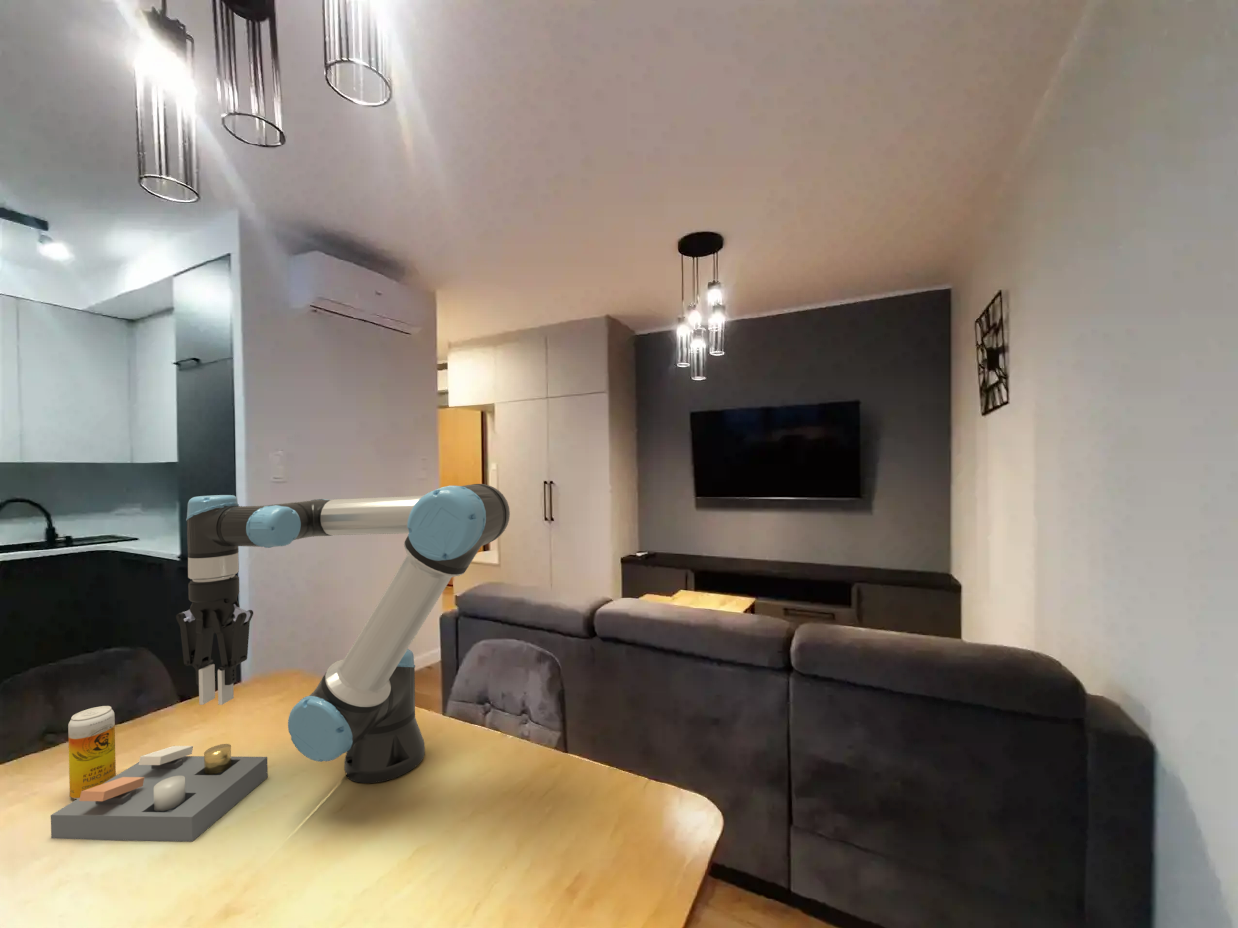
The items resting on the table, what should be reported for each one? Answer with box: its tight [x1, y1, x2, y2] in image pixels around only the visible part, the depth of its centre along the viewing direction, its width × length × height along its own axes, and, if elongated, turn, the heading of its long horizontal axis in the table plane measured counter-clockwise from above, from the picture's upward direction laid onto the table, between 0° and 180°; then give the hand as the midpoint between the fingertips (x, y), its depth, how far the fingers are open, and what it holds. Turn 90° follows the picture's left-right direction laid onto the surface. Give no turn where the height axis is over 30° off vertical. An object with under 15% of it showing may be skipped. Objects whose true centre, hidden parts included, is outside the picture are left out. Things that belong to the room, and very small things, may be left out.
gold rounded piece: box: [203, 743, 232, 775], centre depth 97 cm, size 4×4×4 cm
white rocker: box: [138, 745, 194, 765], centre depth 98 cm, size 4×7×1 cm, turn 178°
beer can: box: [67, 705, 117, 800], centre depth 97 cm, size 6×6×15 cm
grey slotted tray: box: [50, 755, 269, 842], centre depth 93 cm, size 24×17×5 cm
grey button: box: [154, 776, 185, 811], centre depth 87 cm, size 4×4×4 cm
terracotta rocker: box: [79, 777, 144, 801], centre depth 88 cm, size 4×7×1 cm, turn 178°
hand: (216, 700), depth 97 cm, fingers open, 3 cm apart
